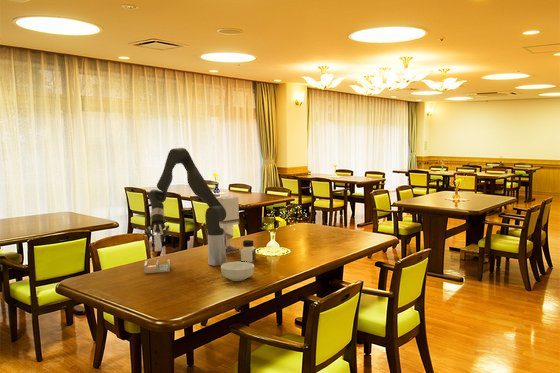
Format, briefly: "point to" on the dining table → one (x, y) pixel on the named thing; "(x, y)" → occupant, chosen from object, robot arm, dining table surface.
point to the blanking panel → (157, 240)
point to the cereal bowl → (237, 270)
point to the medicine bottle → (248, 251)
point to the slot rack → (157, 267)
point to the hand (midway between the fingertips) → (157, 241)
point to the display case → (229, 220)
